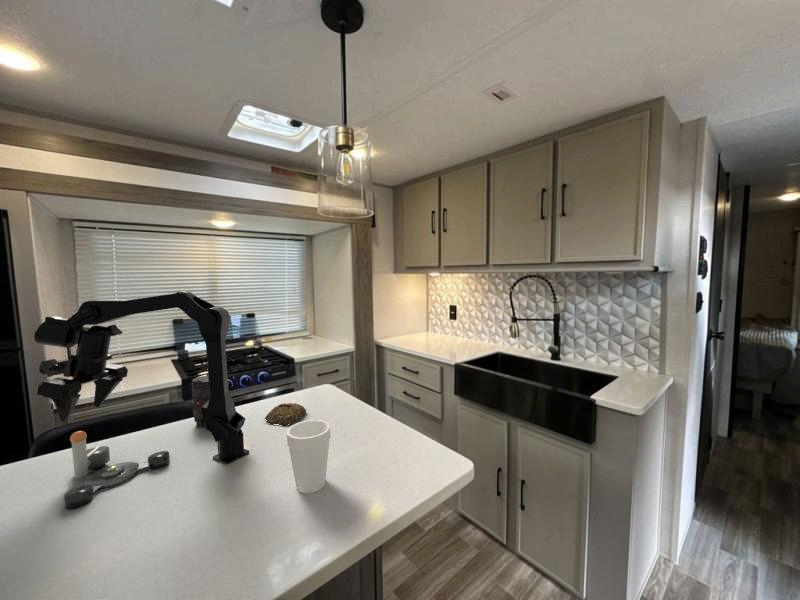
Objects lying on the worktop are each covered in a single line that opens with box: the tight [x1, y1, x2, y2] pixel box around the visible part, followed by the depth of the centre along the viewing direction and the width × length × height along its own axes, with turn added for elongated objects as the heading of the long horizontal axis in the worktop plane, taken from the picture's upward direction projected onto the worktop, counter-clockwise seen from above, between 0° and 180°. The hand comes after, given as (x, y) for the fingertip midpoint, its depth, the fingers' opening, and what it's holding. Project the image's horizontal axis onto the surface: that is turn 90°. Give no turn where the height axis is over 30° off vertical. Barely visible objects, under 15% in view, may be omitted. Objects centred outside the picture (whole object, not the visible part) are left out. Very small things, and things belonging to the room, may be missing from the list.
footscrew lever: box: [69, 430, 111, 479], centre depth 81 cm, size 9×6×11 cm, turn 17°
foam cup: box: [286, 419, 331, 494], centre depth 74 cm, size 10×9×13 cm
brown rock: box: [264, 402, 307, 426], centre depth 112 cm, size 13×12×5 cm
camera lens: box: [191, 375, 210, 428], centre depth 108 cm, size 8×8×15 cm
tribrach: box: [63, 450, 171, 511], centre depth 80 cm, size 18×20×3 cm
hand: (81, 413), depth 80 cm, fingers open, 9 cm apart
